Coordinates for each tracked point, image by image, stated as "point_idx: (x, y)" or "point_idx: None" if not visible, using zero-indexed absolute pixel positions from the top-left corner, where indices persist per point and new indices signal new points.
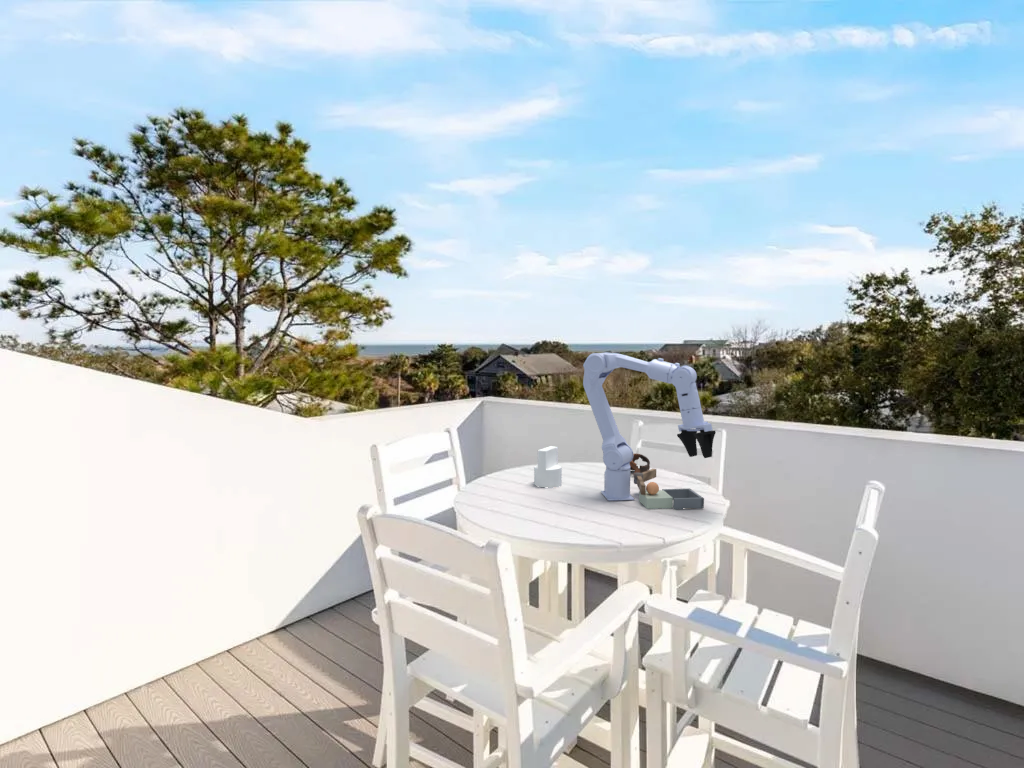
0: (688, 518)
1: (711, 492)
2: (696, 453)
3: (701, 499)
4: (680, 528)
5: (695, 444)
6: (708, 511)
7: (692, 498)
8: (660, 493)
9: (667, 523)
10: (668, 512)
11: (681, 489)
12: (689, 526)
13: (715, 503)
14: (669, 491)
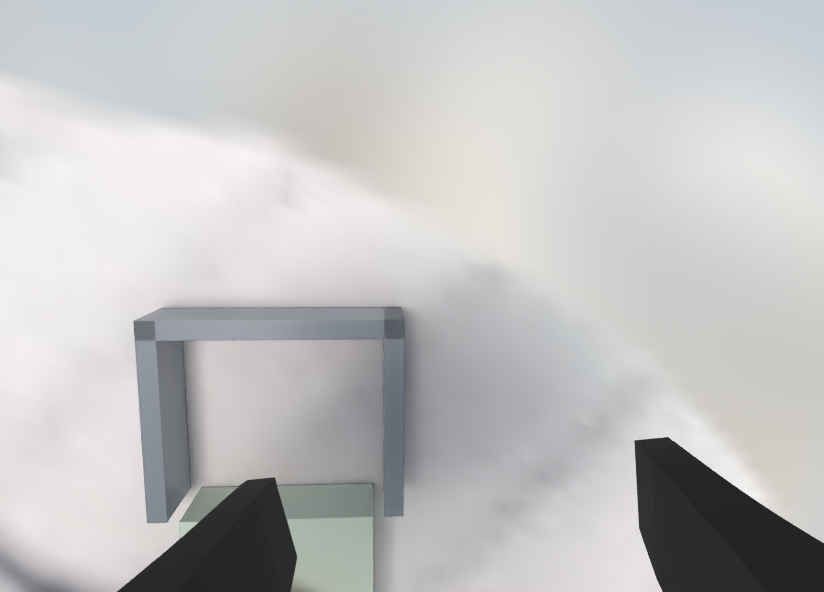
0: (565, 457)
1: (5, 91)
2: (266, 498)
3: (403, 334)
4: None
5: (192, 589)
6: (455, 299)
7: (401, 397)
8: None
9: (628, 585)
10: (448, 528)
11: (158, 391)
12: None
13: (291, 184)
14: (169, 471)
